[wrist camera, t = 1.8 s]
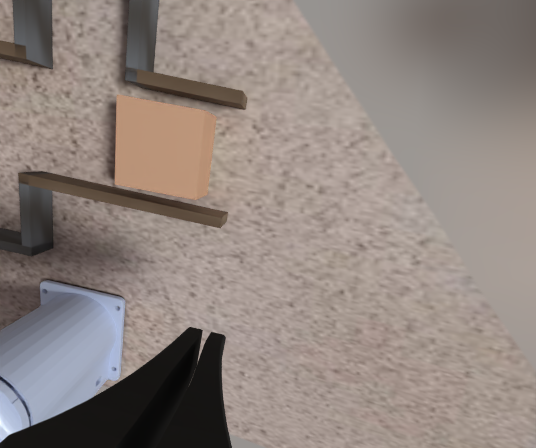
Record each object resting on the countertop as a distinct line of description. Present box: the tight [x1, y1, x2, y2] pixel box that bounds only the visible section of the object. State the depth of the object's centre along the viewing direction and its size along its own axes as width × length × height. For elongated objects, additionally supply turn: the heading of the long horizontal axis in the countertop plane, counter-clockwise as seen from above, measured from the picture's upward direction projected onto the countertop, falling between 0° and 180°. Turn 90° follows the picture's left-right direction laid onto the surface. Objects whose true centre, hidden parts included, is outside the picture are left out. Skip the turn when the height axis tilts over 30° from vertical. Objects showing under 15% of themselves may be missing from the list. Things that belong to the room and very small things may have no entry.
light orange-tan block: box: [115, 95, 216, 200], centre depth 19 cm, size 6×6×3 cm
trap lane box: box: [0, 0, 247, 256], centre depth 19 cm, size 22×30×2 cm
